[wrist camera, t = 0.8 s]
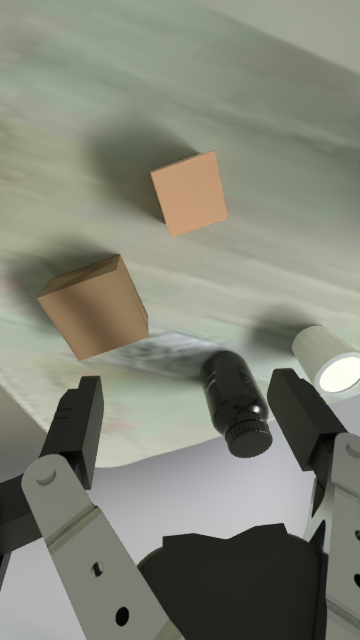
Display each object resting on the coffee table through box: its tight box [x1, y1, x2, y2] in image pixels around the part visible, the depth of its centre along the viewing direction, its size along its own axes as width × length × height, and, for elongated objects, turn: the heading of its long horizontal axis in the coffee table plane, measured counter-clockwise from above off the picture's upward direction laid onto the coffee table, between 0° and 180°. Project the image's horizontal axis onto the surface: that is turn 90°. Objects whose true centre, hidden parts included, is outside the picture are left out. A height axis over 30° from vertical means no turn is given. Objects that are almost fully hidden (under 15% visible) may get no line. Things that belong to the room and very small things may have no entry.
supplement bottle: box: [200, 352, 273, 458], centre depth 34 cm, size 7×7×12 cm
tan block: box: [149, 151, 228, 238], centre depth 24 cm, size 5×5×6 cm
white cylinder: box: [292, 325, 360, 396], centre depth 35 cm, size 7×7×7 cm
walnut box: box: [37, 255, 149, 361], centre depth 29 cm, size 8×8×5 cm
